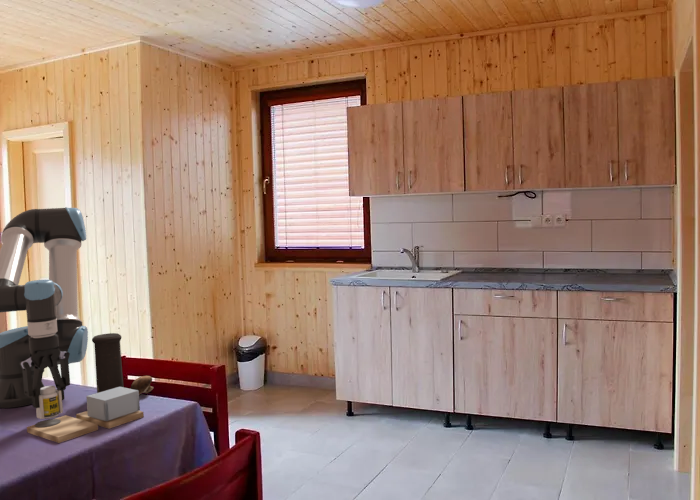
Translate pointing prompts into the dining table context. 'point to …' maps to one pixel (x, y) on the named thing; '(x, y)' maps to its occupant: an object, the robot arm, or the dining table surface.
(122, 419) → the pattern board
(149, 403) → the dining table surface
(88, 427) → the board
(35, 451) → the dining table surface
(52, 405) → the supplement bottle
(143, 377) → the mushroom
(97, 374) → the container
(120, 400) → the cover
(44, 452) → the dining table surface
